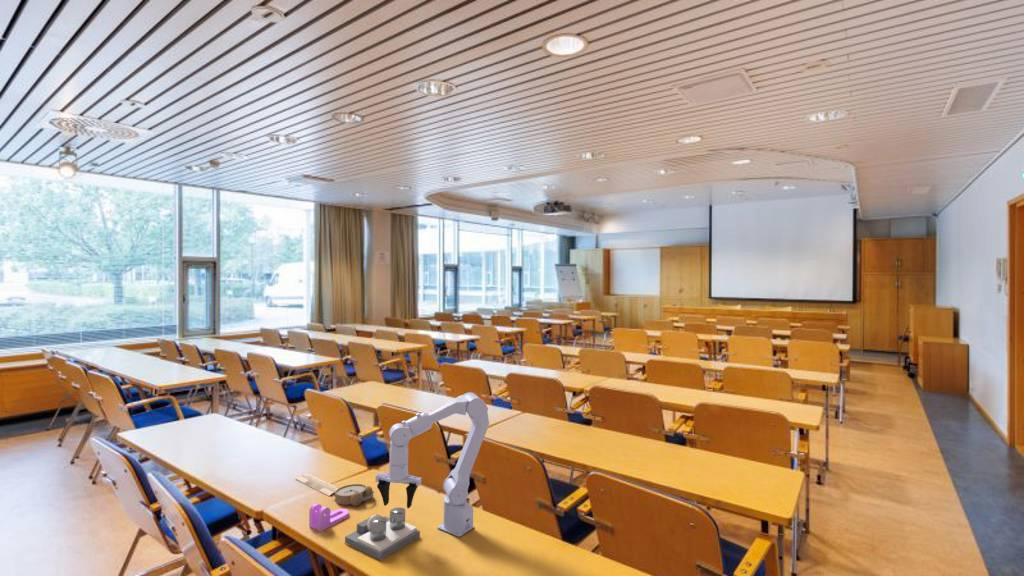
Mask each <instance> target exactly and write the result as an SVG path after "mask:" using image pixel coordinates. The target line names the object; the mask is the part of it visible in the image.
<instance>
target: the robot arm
mask: <svg viewBox="0 0 1024 576" xmlns="http://www.w3.org/2000/svg"><path fill="white" fill-rule="evenodd" d="M488 410H489V408H488V405H487V404H486V402H485V401H484V400H483V398H480V396H478V395H477V393H475V392H472V391H469V392H466V393H464V394H461V395H458V396H457V397H456V398H454V399H452V400H451V401H449V402H447V403H446V404H443V405H442V406H440V407H438V408H436V409H434V410H433V411H431V412H429V413H426V412H421V413H420V412H417V413H415V416H413V417H411V418H409V419H407V420H405V419H404V420H402V421H401V422H400V423H395V424H393V425H392V426H391V427H390V429H389V431H388V436H389V438H390V443H389V446H390V448H389V462H388V463H389V466H388V467H389V469H388V472H389V473H387V472H386V473H377V474H376V475H375V482H376V483H377V484H376V487H377V489H378V491H379V493H380V496H381V498H382V501H383V506H384V507H385V506H386V507H387V505H388V504H389V503H390V486H391V483H393V484H403V485H404V484H405V485H407V486H406V488H405V492H406V508H407V509H410V508H411V507H412V506H413V505H412V504H413V499H414V497H415V496H414V495H415V494H416V491H417V489H418V487H421V485H422V477H419V476H415V475H411V474H409V472H408V471H409V443H410V440H411V439H412V438H415V437H417V436H419V435H421V434H423V433H425V432H427V431H429V430H431V428H432V426H433V424H434V423H437V422H440V421H441V420H444V419H446V418H448V417H451V416H453V415H455V414H457V415H462V416H467V415H468V418H469V419H470V421H471V426H470V430H469V432H468V434H467V436H466V440H465V442H464V444H463V446H462V449H461V452H460V454H459V457H458V459H457V463H456V464H455V467H454V468H453V469H452V470H450V472H449V475H448V476H447V477H446V478H445V479H444V480H443V483H442V489H443V491H444V492H445V496H444V498H443V523H441V524H440V525H438V526H437V529H439V530H441V531H443V532H446V533H449V534H451V535H454V536H456V537H458V538H460V537H462V536H464V535H465V534H466V533H468V532H469V531H471V530H472V529H474V528H475V525H474V508H473V505H471V504H469V502H467V499H468V497H469V492H468V491H469V486H470V476H471V475H470V474H471V472H472V469H473V467H474V464H475V461H476V459H477V457H478V453H479V452H480V450H481V446H482V444H483V442H484V439H485V436H486V434H487V431H488V428H489V425H490V420H489V413H488Z"/></svg>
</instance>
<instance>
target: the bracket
mask: <svg viewBox="0 0 1024 576" xmlns="http://www.w3.org/2000/svg"><path fill="white" fill-rule="evenodd" d="M349 511H350V510H349V509H347V508H338V509H335V510H332V511H331V509H330V508H329V507H327V506H322V504H320V503H317V502H316V503H315V502H314V503H313V504H312V505H311V506H310V509H309V516H308V518H309V519H308V527H309V528H311V527H312V528H311V529H314V530H316V529H317V531H318V530H319V531H318V532H322V531H324V530H326V529H328V528H330V527H332V526H334V525H336V524H338V523H339V522H341V521H344V520H346V519H347V518H348V517H349V516H350V512H349ZM345 518H346V519H345ZM343 519H344V520H343ZM321 530H322V531H321Z"/></svg>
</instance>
